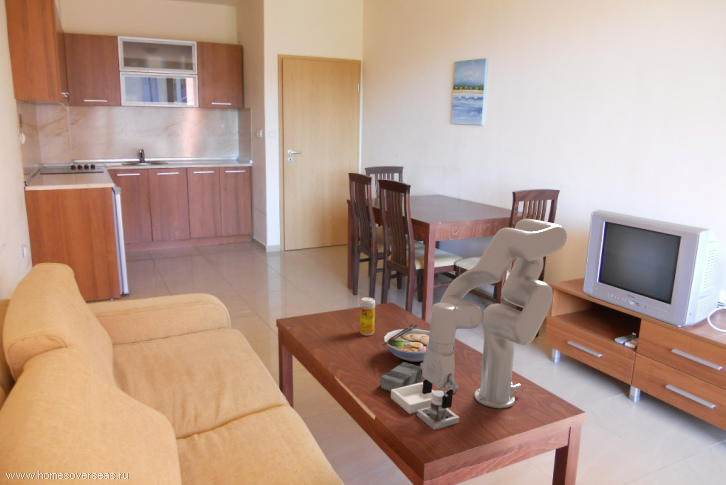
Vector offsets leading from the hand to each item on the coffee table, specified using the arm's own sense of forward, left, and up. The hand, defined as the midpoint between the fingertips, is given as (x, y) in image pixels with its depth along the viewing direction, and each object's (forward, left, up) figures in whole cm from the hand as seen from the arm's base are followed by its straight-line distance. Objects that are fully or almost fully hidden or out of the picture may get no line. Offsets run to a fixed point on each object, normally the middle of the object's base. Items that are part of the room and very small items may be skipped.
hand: (436, 400), depth 163 cm
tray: (-1, -12, -6) cm, 13 cm away
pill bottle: (-1, 0, -7) cm, 7 cm away
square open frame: (-1, 0, -6) cm, 6 cm away
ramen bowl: (-19, -40, -7) cm, 45 cm away
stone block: (-3, -24, -7) cm, 25 cm away
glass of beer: (-15, -69, -7) cm, 71 cm away
